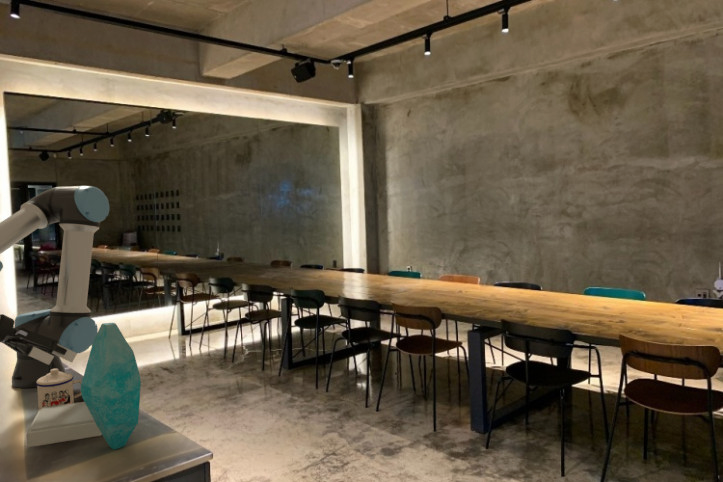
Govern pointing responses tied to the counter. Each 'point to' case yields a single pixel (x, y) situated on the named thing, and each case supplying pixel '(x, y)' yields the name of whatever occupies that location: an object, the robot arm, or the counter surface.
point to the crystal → (112, 385)
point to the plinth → (62, 424)
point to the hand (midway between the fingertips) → (62, 359)
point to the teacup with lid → (56, 389)
